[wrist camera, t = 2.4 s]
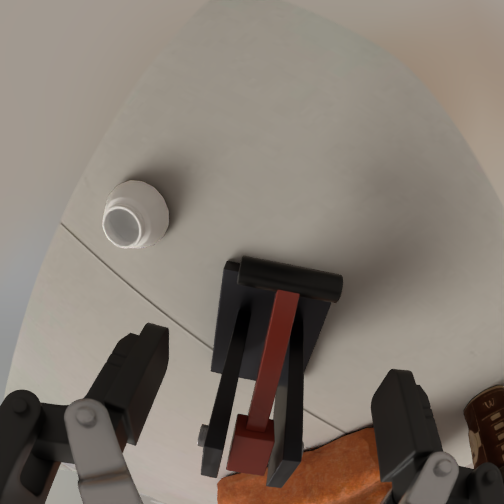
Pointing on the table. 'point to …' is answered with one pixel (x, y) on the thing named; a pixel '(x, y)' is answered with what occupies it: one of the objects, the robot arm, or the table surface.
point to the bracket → (247, 365)
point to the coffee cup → (487, 427)
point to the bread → (318, 477)
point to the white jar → (135, 215)
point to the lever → (273, 352)
